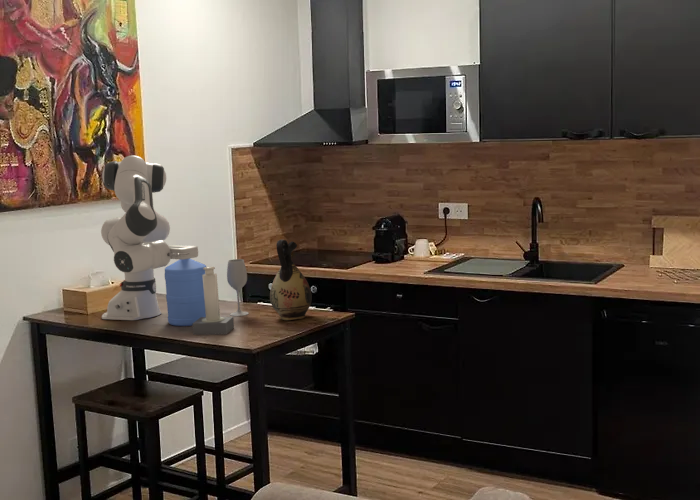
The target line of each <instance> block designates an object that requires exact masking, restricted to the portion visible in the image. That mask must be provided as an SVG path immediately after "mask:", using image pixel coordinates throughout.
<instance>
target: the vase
mask: <svg viewBox="0 0 700 500" xmlns="http://www.w3.org/2000/svg"><path fill="white" fill-rule="evenodd" d="M215 267H216V266H206V267H204V268H203V270H205V274H204V275H202V276H203V288H204V301H205V314H206V320H208V321H213V320H219V319H220V317H221V315H220V314H221V311H220V296H219V287H218V286H219V285H218V274H217V273H215V271H214V270H215V269H216V268H215Z"/></svg>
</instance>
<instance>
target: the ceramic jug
mask: <svg viewBox="0 0 700 500" xmlns="http://www.w3.org/2000/svg"><path fill="white" fill-rule="evenodd" d="M297 247H298V244H297V243H296V242H295V241H292V240H291V241H289V243H288V241H287V240H286V239H279V240H277V241H276V252H277V258H278V260H279V263H280V268H279V270H278V271H277V273H276V275H275V277H274V279H273V280H272V281H273V282H272V283H271V287H270V291H269V292H270V293H269V301H270V304H271V306H272V308H273V310H275V312H276V313H277V314H278V315H279V317H280V319H281V320H282V321H283V320H284V321H291V320H303V319H305V318H307V316H306V314H307V312H308V310H309V308H310V307H311V305H312V300H313V298H312V297H313V296H312V291H311V287H310V285H309V282H308V280H307V279H306V278H305V276H304V275H303V273H302V272H301V270H300V268H298V267H297V265H296V264H295V263H294V262H293V260H292V252H293V251H294V250H295V249H297Z"/></svg>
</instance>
